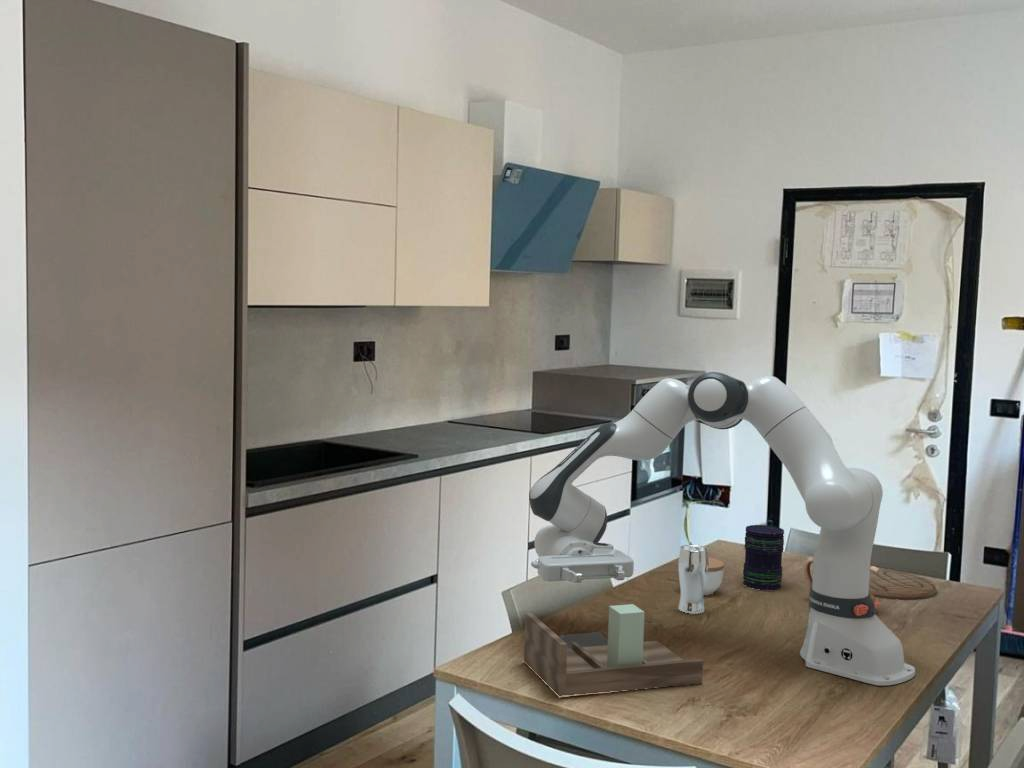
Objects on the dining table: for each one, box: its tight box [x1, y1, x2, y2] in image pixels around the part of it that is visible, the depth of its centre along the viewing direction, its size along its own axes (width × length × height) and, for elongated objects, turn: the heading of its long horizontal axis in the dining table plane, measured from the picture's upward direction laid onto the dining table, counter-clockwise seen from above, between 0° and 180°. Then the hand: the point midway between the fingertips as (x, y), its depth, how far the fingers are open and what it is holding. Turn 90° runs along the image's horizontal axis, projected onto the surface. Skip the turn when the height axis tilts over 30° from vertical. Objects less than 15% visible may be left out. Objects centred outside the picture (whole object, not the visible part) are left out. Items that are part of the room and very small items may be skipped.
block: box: [607, 603, 645, 667], centre depth 192 cm, size 5×5×12 cm
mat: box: [556, 631, 608, 649], centre depth 211 cm, size 12×13×1 cm
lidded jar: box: [703, 557, 725, 596], centre depth 254 cm, size 11×11×9 cm
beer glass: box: [677, 544, 709, 615], centre depth 238 cm, size 7×7×15 cm
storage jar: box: [742, 524, 785, 591], centre depth 261 cm, size 10×10×15 cm
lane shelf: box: [523, 612, 704, 696], centre depth 196 cm, size 19×29×10 cm, turn 109°
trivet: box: [869, 567, 937, 601], centre depth 265 cm, size 25×25×2 cm
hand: (600, 577), depth 203 cm, fingers open, 8 cm apart
